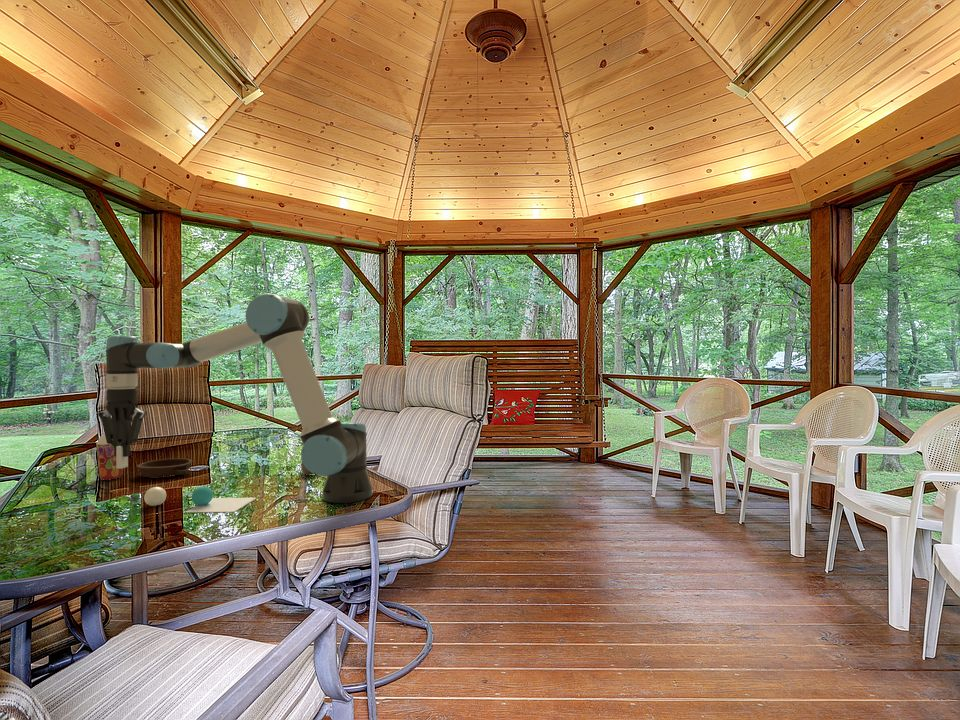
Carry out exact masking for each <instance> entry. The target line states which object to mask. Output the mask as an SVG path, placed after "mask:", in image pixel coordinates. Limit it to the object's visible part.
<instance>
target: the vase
mask: <svg viewBox="0 0 960 720" xmlns="http://www.w3.org/2000/svg"><path fill="white" fill-rule="evenodd" d="M300 469H301V472H302V473H303V475H304V474H307V475H309V474H313V473H311V472H310V471H309V470H308V469H307V468H306V467H305V466H304V464H303V462H302V461H301V463H300Z"/></svg>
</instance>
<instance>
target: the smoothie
mask: <svg viewBox="0 0 960 720" xmlns="http://www.w3.org/2000/svg"><path fill="white" fill-rule="evenodd" d="M96 453H97V463H98V464H97V465H98V466H97V467H98V477H99V478H100V479H104V480H108V479H115V478H118V477H121V478H122V475H123V473H124V472H123V470H124V468H122V469H116V457H115V456H114V446H113V445H112V444H108V443H107V441H106V437H105V433H103V434H101V435H100V437H99V438H98V440H97V441H96Z"/></svg>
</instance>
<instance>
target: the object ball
mask: <svg viewBox="0 0 960 720" xmlns="http://www.w3.org/2000/svg"><path fill="white" fill-rule="evenodd" d="M212 498H214V493H213V490H212V489H211V488H210V487H207V486H199V487H197V488H195V489H194V490H193V491H192V494H191V500H192V502H193V504H194V505H195V506H197V505H199V506H202V505H206V504H208V503H209V502H210V501H211V500H212Z"/></svg>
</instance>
